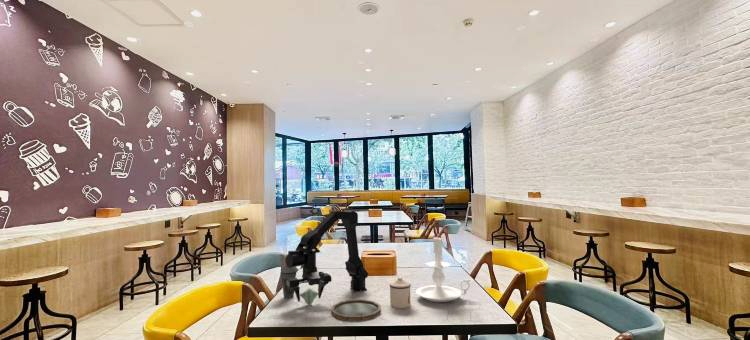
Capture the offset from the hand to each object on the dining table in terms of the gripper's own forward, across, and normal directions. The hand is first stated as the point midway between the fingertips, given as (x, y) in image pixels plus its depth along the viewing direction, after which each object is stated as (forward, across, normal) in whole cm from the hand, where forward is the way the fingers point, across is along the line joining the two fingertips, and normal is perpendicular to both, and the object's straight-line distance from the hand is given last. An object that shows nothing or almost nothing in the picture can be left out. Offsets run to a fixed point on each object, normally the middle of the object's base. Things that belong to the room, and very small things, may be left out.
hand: (309, 300), depth 146 cm
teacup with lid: (+2, +34, -20) cm, 40 cm away
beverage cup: (+2, -5, +15) cm, 16 cm away
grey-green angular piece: (+2, 0, 0) cm, 2 cm away
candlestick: (+2, +54, -25) cm, 60 cm away
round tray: (+2, +14, -18) cm, 23 cm away
